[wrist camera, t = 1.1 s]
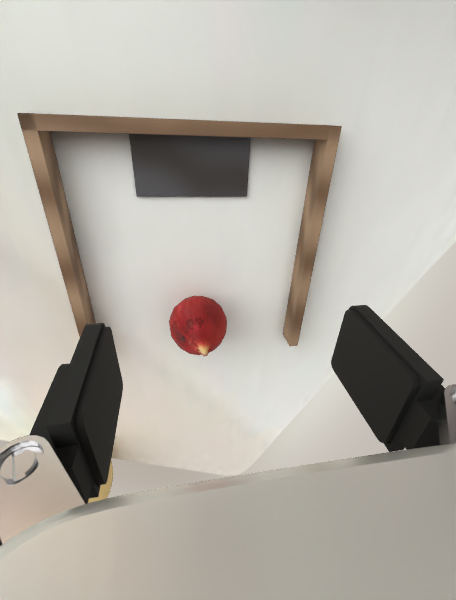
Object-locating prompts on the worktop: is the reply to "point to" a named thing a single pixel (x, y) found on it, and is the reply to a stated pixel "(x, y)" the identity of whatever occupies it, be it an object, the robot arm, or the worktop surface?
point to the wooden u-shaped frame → (181, 182)
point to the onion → (198, 325)
